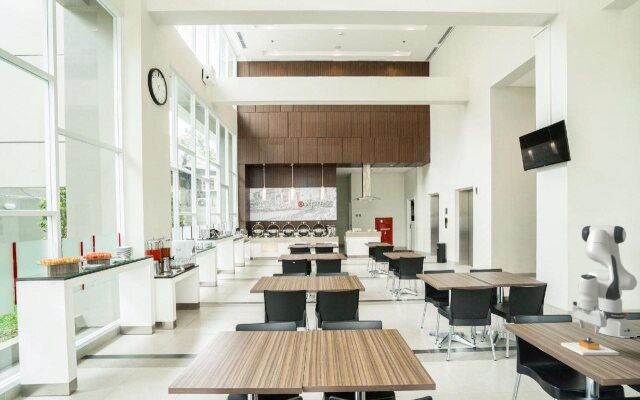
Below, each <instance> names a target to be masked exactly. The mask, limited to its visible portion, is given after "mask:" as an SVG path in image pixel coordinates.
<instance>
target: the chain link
mask: <svg viewBox="0 0 640 400" xmlns="http://www.w3.org/2000/svg"><path fill="white" fill-rule="evenodd" d="M578 343H579V346H582V347H584V348H586V349H599V345H600V343H599V342H597V341H594V340H592V339H591V343H587V339H579V340H578Z"/></svg>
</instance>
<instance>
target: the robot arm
mask: <svg viewBox="0 0 640 400" xmlns="http://www.w3.org/2000/svg"><path fill="white" fill-rule="evenodd" d="M580 234H581V237H582V240H583V241H584V242H585V243H586V244H585V254H586V256H587V257H588V258H589V259H590V260H591V261H593V262H595V263H598V264H600V265H601V266H603V267H605V268H606V269H607V270H603V269H602V270H601V269H593V270H589V271H588V272H587V274H581V275H580V276H579V281H578V292H579V297H578V300H573V301H572V302H571V304H572V308H571V311H572V312H571V314H572V317H573V318H574V319H576V320H578V321H577V322H578V324H579V328H580V329H582V330H583V329H585V328H586V325H585V324H584V322H585V323H587V324H590V325H593V326H594V328H595V329H593V331H592V332H593V334H596V335H599V334H602V335H604V336H605V335H606V336H608V337H611V336H612V337H615V338H620V339H630V337H634V338H638V337H637V336H640V333H638V332H637V329H636V326H635V324H633V323H632V322H630V321H629V320H628V319H627V318H628V317H629V316H630V314H629V313H627V312H623V300H622V299H621V297H622V295H623V291H633V290H635V289H636V287H637V285H638V280H637V277H635V276H634V274H632V273H631V272H629V271H628V270H627V269H626V268H625V267H624V265H623V263H622V261H621V255H620V246H619V244H623V243H624V242H625V241H626V239H627V232H626V229H625V228H624V227H622V226H620V225H607V224H606V225H587V226H584V227H583V228H582V229H581V233H580ZM626 317H627V318H626ZM585 330H586V329H585Z"/></svg>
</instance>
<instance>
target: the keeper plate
mask: <svg viewBox="0 0 640 400" xmlns="http://www.w3.org/2000/svg"><path fill="white" fill-rule="evenodd" d="M586 340H587V343H591V340H592V338H591V337H586ZM560 345H561V346H562V347H564V348H565V349H568V350H570V351H572V352H575V353H577V354H579V355H581V356H586V357H587V356H619V355H620V352H619V351H617V350H614V349H611V348H609V347H606V346H604V345H601V344H599V349H586V348H584V347H582V346H579V342H560Z"/></svg>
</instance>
